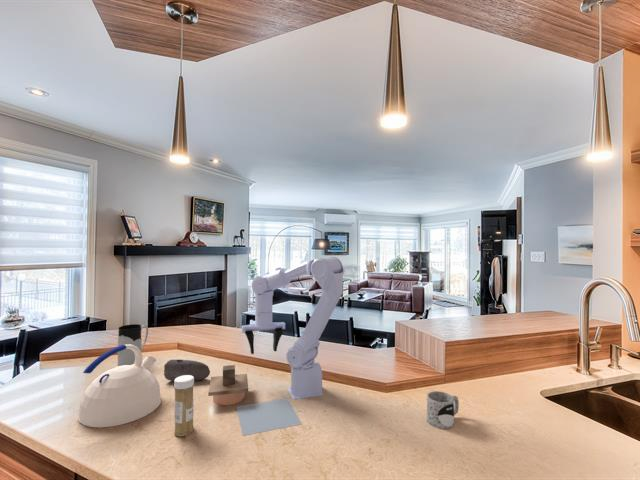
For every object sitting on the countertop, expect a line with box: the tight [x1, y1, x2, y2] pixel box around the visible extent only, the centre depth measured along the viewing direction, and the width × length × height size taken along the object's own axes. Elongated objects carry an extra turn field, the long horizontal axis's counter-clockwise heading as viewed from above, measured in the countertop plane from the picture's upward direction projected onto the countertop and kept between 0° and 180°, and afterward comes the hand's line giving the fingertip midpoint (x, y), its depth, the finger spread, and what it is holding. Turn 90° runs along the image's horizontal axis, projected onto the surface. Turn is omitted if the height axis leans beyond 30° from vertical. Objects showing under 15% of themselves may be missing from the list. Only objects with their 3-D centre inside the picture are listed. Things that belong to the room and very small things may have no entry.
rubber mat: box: [236, 397, 303, 436], centre depth 89 cm, size 15×15×1 cm
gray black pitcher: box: [116, 324, 149, 367], centre depth 128 cm, size 9×14×15 cm, turn 171°
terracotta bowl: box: [212, 392, 246, 406], centre depth 99 cm, size 9×9×4 cm
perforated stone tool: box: [163, 359, 211, 382], centre depth 113 cm, size 15×5×7 cm, turn 90°
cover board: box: [207, 364, 249, 397], centre depth 99 cm, size 11×11×6 cm
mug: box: [426, 390, 460, 430], centre depth 87 cm, size 10×7×7 cm
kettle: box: [77, 344, 162, 429], centre depth 94 cm, size 20×21×18 cm
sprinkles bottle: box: [173, 375, 195, 438], centre depth 82 cm, size 5×5×14 cm
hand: (263, 351), depth 111 cm, fingers open, 7 cm apart
